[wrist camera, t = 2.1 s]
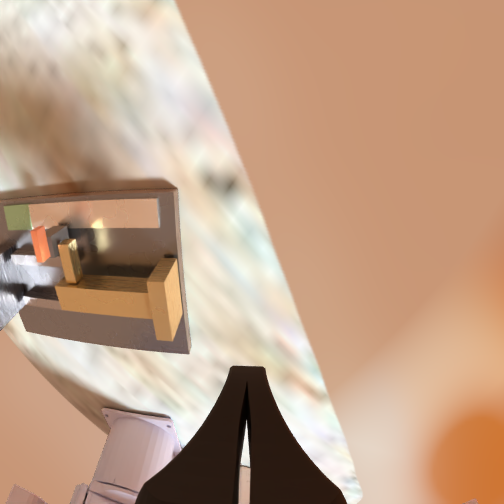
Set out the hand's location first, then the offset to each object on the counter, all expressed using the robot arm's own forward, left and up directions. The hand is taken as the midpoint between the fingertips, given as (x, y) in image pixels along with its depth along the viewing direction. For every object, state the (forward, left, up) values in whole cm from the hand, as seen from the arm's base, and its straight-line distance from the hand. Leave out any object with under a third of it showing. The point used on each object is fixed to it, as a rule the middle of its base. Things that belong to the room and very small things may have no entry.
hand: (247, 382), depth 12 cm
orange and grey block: (+4, +13, -8) cm, 15 cm away
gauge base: (0, +13, -9) cm, 15 cm away
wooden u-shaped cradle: (+1, +8, -8) cm, 12 cm away
